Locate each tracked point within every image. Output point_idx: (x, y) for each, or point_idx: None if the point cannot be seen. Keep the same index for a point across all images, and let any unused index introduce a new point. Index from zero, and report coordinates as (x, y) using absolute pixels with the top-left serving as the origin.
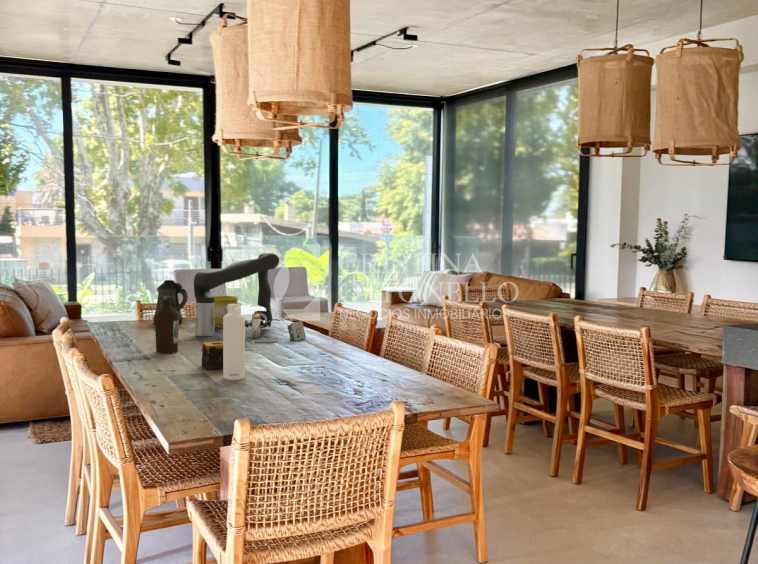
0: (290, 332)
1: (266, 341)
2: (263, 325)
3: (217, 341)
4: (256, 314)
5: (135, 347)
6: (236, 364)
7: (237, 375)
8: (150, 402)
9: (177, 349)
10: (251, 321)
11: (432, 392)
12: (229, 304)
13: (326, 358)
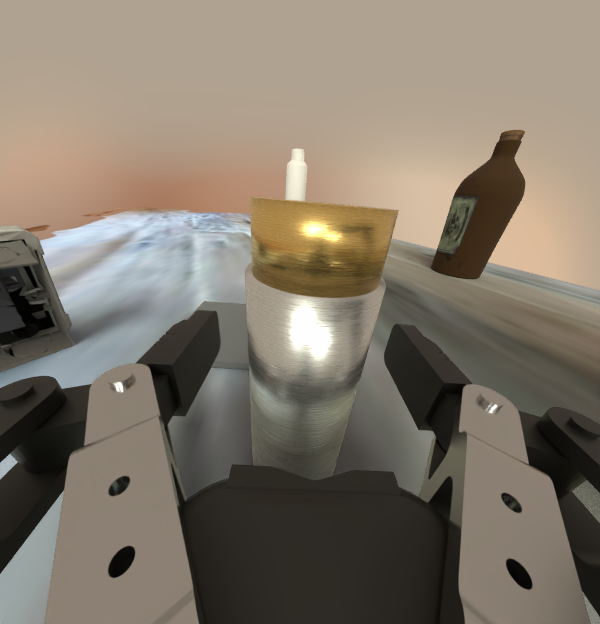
0: (53, 300)
1: (236, 309)
2: (217, 325)
3: None
4: (319, 203)
5: (580, 297)
6: None
7: None
8: None
9: (435, 265)
10: (457, 452)
11: (154, 211)
12: (303, 150)
13: (162, 236)
